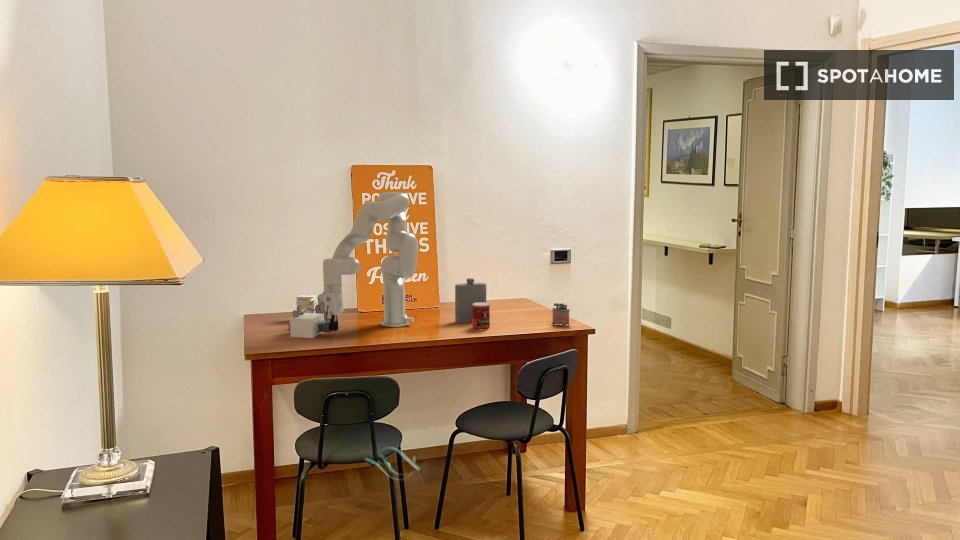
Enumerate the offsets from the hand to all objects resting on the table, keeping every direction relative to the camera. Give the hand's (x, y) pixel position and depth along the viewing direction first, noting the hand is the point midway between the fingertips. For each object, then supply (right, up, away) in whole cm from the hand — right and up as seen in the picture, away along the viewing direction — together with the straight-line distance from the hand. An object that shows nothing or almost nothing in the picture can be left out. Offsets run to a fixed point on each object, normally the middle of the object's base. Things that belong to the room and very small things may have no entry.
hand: (334, 330), depth 317 cm
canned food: (+62, 0, +15) cm, 64 cm away
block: (-12, -2, +3) cm, 12 cm away
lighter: (+99, 0, +22) cm, 101 cm away
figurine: (-7, 0, +20) cm, 21 cm away
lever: (-12, +9, +1) cm, 16 cm away
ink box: (-19, +2, +32) cm, 37 cm away
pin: (-11, -1, +2) cm, 11 cm away
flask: (+58, +2, +30) cm, 65 cm away
